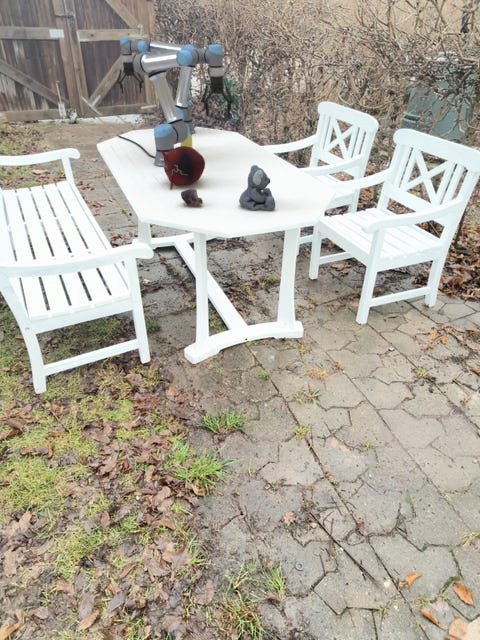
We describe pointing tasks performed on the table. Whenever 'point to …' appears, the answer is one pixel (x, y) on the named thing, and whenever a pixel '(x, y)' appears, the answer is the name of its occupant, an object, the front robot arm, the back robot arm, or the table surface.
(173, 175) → the dark red rounded lump
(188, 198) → the rock
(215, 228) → the table surface
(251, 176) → the koala plush
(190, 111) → the back robot arm
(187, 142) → the tin
